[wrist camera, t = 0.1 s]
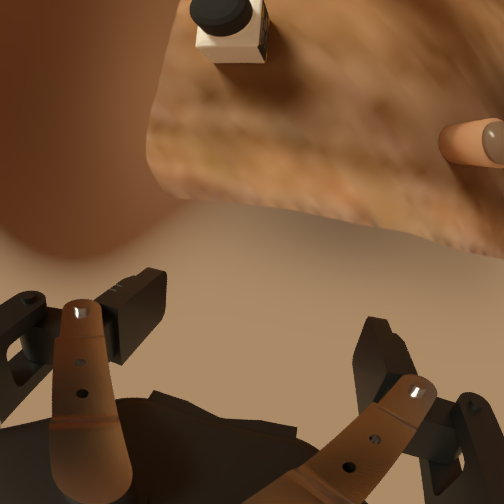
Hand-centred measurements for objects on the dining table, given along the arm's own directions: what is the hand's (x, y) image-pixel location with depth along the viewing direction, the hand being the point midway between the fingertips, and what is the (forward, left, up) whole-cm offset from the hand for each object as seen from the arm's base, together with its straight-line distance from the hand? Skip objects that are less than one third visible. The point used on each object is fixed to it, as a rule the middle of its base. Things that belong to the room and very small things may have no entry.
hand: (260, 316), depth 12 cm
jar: (-13, +20, -29) cm, 38 cm away
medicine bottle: (-21, -10, -29) cm, 38 cm away
